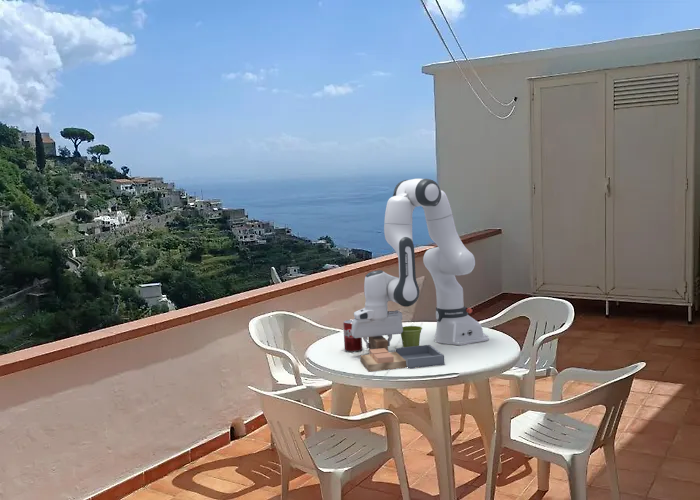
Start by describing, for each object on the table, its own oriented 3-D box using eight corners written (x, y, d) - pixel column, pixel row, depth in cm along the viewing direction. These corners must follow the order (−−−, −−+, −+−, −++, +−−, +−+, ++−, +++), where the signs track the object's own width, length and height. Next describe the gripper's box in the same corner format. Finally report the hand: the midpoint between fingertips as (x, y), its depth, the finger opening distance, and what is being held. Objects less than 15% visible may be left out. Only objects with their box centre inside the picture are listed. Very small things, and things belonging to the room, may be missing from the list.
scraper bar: (379, 349, 264) (379, 333, 263) (388, 358, 250) (387, 340, 249) (369, 351, 263) (368, 334, 262) (377, 359, 249) (376, 341, 249)
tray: (429, 353, 254) (429, 344, 253) (444, 364, 237) (444, 355, 237) (395, 356, 251) (395, 348, 251) (408, 368, 235) (408, 359, 234)
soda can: (360, 352, 260) (359, 323, 259) (343, 352, 262) (341, 323, 261) (363, 348, 268) (362, 319, 266) (346, 347, 269) (345, 319, 268)
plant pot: (407, 353, 255) (406, 332, 254) (395, 349, 263) (394, 328, 262) (427, 350, 259) (426, 328, 258) (414, 345, 267) (413, 324, 267)
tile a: (384, 353, 248) (384, 348, 248) (388, 357, 242) (388, 351, 242) (369, 354, 247) (369, 349, 247) (373, 358, 241) (372, 353, 241)
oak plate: (396, 358, 250) (395, 351, 249) (406, 367, 236) (406, 360, 236) (360, 361, 247) (360, 355, 247) (368, 371, 233) (368, 364, 233)
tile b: (389, 357, 241) (389, 352, 241) (393, 361, 235) (393, 356, 235) (373, 359, 240) (373, 354, 240) (377, 363, 234) (377, 358, 234)
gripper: (399, 308, 260) (401, 342, 261) (349, 313, 256) (351, 347, 257) (404, 311, 254) (405, 346, 255) (353, 316, 250) (354, 351, 251)
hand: (378, 346), depth 256 cm, fingers open, 6 cm apart
